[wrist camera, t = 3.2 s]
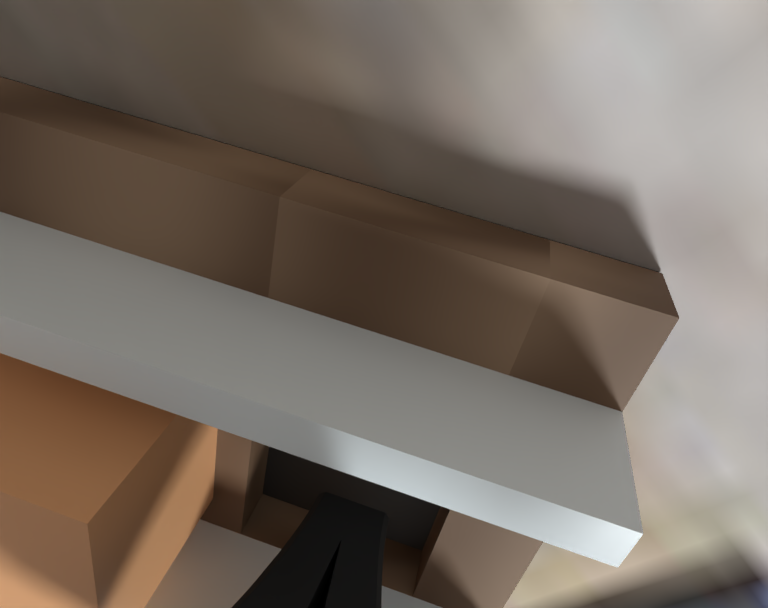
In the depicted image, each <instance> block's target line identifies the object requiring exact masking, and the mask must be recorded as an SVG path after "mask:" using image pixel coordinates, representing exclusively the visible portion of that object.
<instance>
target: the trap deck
mask: <svg viewBox="0 0 768 608" xmlns="http://www.w3.org/2000/svg"><path fill="white" fill-rule="evenodd" d="M0 212H3V213H6V214H9V215H12V216H15V217H18V218H21V219H24V220H27V221H31V222H34V223H37V224H40V225H43V226H46V227H49V228H52V229H55V230H59V231H62V232H65V233H68V234H71V235H74V236H77V237H80V238H83V239H86V240H90V241H93V242H96V243H99V244H102V245H105V246H108V247H111V248H114V249H118V250H121V251H124V252H127V253H130V254H133V255H136V256H139V257H142V258H146V259H149V260H152V261H155V262H158V263H161V264H164V265H167V266H170V267H174V268H177V269H180V270H183V271H186V272H189V273H192V274H195V275H198V276H201V277H205V278H208V279H211V280H214V281H217V282H220V283H223V284H226V285H229V286H233V287H236V288H239V289H242V290H245V291H248V292H251V293H254V294H257V295H261V296H264V297H267V298H270V299H273V300H276V301H279V302H282V303H285V304H289V305H292V306H295V307H298V308H301V309H304V310H307V311H310V312H313V313H316V314H320V315H323V316H326V317H329V318H332V319H335V320H338V321H341V322H344V323H348V324H351V325H354V326H357V327H360V328H363V329H366V330H369V331H372V332H376V333H379V334H382V335H385V336H388V337H391V338H394V339H397V340H400V341H403V342H407V343H410V344H413V345H416V346H419V347H422V348H425V349H428V350H431V351H435V352H438V353H441V354H444V355H447V356H450V357H453V358H456V359H459V360H463V361H466V362H469V363H472V364H475V365H478V366H481V367H484V368H487V369H491V370H494V371H497V372H500V373H503V374H506V375H509V376H512V377H515V378H518V379H522V380H525V381H528V382H531V383H534V384H537V385H540V386H543V387H546V388H550V389H553V390H556V391H559V392H562V393H565V394H568V395H571V396H574V397H578V398H581V399H584V400H587V401H590V402H593V403H596V404H599V405H602V406H606V407H609V408H612V409H615V410H618V411H621V412H622V411H623V410H624V408H625V406H626V405H627V403H628V401H629V400H630V398H631V397H632V395H633V393H634V392H635V390H636V388H637V387H638V385H639V383H640V382H641V380H642V378H643V377H644V375H645V374H646V372H647V370H648V369H649V367H650V365H651V364H652V362H653V360H654V359H655V357H656V355H657V354H658V352H659V351H660V349H661V347H662V346H663V344H664V342H665V341H666V339H667V337H668V336H669V334H670V332H671V331H672V329H673V328H674V326H675V324H676V323H677V321H678V319H679V316H678V313H677V311H676V308H675V306H674V303H673V300H672V298H671V295H670V292H669V290H668V287H667V285H666V282H665V279H664V277H663V274H662V273H659V272H656V271H652V270H649V269H646V268H642V267H639V266H635V265H632V264H629V263H625V262H622V261H619V260H615V259H612V258H609V257H605V256H602V255H598V254H595V253H592V252H588V251H585V250H582V249H578V248H575V247H572V246H568V245H565V244H561V243H558V242H555V241H551V240H548V239H545V238H541V237H538V236H534V235H531V234H528V233H524V232H521V231H518V230H514V229H511V228H508V227H504V226H501V225H497V224H494V223H491V222H487V221H484V220H481V219H477V218H474V217H471V216H467V215H464V214H460V213H457V212H454V211H450V210H447V209H444V208H440V207H437V206H434V205H430V204H427V203H423V202H420V201H417V200H413V199H410V198H407V197H403V196H400V195H397V194H393V193H390V192H386V191H383V190H380V189H376V188H373V187H370V186H366V185H363V184H360V183H356V182H353V181H349V180H346V179H343V178H339V177H336V176H333V175H329V174H326V173H323V172H319V171H316V170H312V169H309V168H306V167H302V166H299V165H296V164H292V163H289V162H285V161H282V160H279V159H275V158H272V157H269V156H265V155H262V154H259V153H255V152H252V151H248V150H245V149H242V148H238V147H235V146H232V145H228V144H225V143H222V142H218V141H215V140H211V139H208V138H205V137H201V136H198V135H195V134H191V133H188V132H185V131H181V130H178V129H174V128H171V127H168V126H164V125H161V124H158V123H154V122H151V121H148V120H144V119H141V118H137V117H134V116H131V115H127V114H124V113H121V112H117V111H114V110H111V109H107V108H104V107H100V106H97V105H94V104H90V103H87V102H84V101H80V100H77V99H74V98H70V97H67V96H63V95H60V94H57V93H53V92H50V91H47V90H43V89H40V88H36V87H33V86H30V85H26V84H23V83H20V82H16V81H13V80H10V79H6V78H3V77H0ZM323 492H328V493H331V494H334V495H337V496H340V497H342V498H345V499H348V500H351V501H354V502H356V503H359V504H362V505H365V506H368V507H371V508H373V509H376V510H379V511H382V512H385V513H386V515H387V516H388V517H389V522H388V526H387V532H386V539H385V546H384V556H383V571H382V586H384V587H387V588H390V589H393V590H395V591H398V592H401V593H404V594H406V595H409V596H412V597H415V598H417V599H420V600H423V601H426V602H428V603H431V604H434V605H436V606H439V607H442V608H503V607H504V605H505V604H506V602H507V600H508V599H509V597H510V595H511V594H512V592H513V590H514V589H515V587H516V586H517V584H518V582H519V581H520V579H521V577H522V576H523V574H524V572H525V571H526V569H527V567H528V566H529V564H530V563H531V561H532V559H533V558H534V556H535V554H536V553H537V551H538V549H539V548H540V546H541V544H542V543H543V541H540V540H537V539H534V538H531V537H528V536H525V535H523V534H520V533H517V532H514V531H511V530H508V529H505V528H502V527H499V526H497V525H494V524H491V523H488V522H485V521H482V520H479V519H476V518H474V517H471V516H468V515H465V514H462V513H459V512H456V511H453V510H451V509H448V508H445V507H442V506H439V505H436V504H433V503H430V502H428V501H425V500H422V499H419V498H416V497H413V496H410V495H407V494H405V493H402V492H399V491H396V490H393V489H390V488H387V487H384V486H381V485H379V484H376V483H373V482H370V481H367V480H364V479H361V478H358V477H356V476H353V475H350V474H347V473H344V472H341V471H338V470H335V469H333V468H330V467H327V466H324V465H321V464H318V463H315V462H312V461H310V460H307V459H304V458H301V457H298V456H295V455H292V454H289V453H287V452H284V451H281V450H278V449H275V448H272V447H269V446H266V445H263V444H261V443H258V442H255V441H252V440H249V439H246V438H243V437H240V436H238V435H235V434H232V433H229V432H226V431H223V430H220V429H218V431H217V446H216V461H215V476H214V491H213V499H212V501H211V502H210V504H209V506H208V507H207V509H206V510H205V512H204V514H203V515H202V517H201V518H200V519H201V520H203V521H206V522H209V523H212V524H214V525H217V526H220V527H222V528H225V529H228V530H231V531H233V532H236V533H239V534H242V535H244V536H247V537H250V538H253V539H255V540H258V541H261V542H264V543H266V544H269V545H272V546H275V547H277V548H280V549H282V548H283V547H284V545H285V544H286V543H287V541H288V540H289V539H290V537H291V536H292V535H293V534H294V532H295V531H296V529H297V528H298V527H299V525H300V524H301V522H302V521H303V519H304V518H305V516H306V515H307V513H308V512H309V510H310V509H311V507H312V505H313V504H314V502H315V500H316V498H317V497H318V495H319V493H323Z"/></svg>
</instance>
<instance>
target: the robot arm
mask: <svg viewBox="0 0 768 608" xmlns="http://www.w3.org/2000/svg"><path fill="white" fill-rule="evenodd" d="M388 522H389V517H388V516H387V515H386V513H385V512H382V511H379V510H376V509H373V508H371V507H368V506H365V505H362V504H359V503H356V502H354V501H351V500H348V499H345V498H342V497H340V496H337V495H334V494H331V493H328V492H323V493H319V495H318V497H317V498H316V500H315V502H314V504H313V505H312V507H311V509H310V510H309V512H308V513H307V515H306V516H305V518H304V519H303V521H302V522H301V524H300V525H299V527H298V528H297V529H296V531H295V532H294V534H293V535H292V536H291V537H290V539H289V540H288V541H287V543H286V544H285V545H284V547H283V548H282V549H281V551H280V552H279V553H278V554H277V556H276V557H275V558H274V559H273V560H272V562H271V563H270V564H269V565H268V566H267V568H266V569H265V570H264V571H263V572H262V574H261V575H260V576H259V577H258V578H257V580H256V581H255V582H254V583H253V584H252V586H251V587H250V588H249V589H248V590H247V591H246V592H245V593H244V595H243V596H242V597H241V598H240V599H239V600H238V601H237V602H236V603H235V604H234V605H233V606H232V607H231V608H381V599H382V571H383V556H384V546H385V539H386V532H387V526H388Z"/></svg>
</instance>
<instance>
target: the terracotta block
mask: <svg viewBox="0 0 768 608" xmlns="http://www.w3.org/2000/svg"><path fill="white" fill-rule="evenodd" d="M217 431H218V429H217V428H215V427H212V426H209V425H206V424H203V423H200V422H197V421H194V420H192V419H189V418H186V417H183V416H180V415H177V414H174V413H171V412H169V411H166V410H163V409H160V408H157V407H154V406H151V405H148V404H146V403H143V402H140V401H137V400H134V399H131V398H128V397H125V396H122V395H120V394H117V393H114V392H111V391H108V390H105V389H102V388H99V387H97V386H94V385H91V384H88V383H85V382H82V381H79V380H76V379H74V378H71V377H68V376H65V375H62V374H59V373H56V372H53V371H51V370H48V369H45V368H42V367H39V366H36V365H33V364H30V363H28V362H25V361H22V360H19V359H16V358H13V357H10V356H7V355H4V354H2V353H0V608H145V606H146V605H147V603H148V601H149V600H150V598H151V597H152V595H153V593H154V592H155V590H156V589H157V587H158V585H159V584H160V582H161V581H162V579H163V577H164V576H165V574H166V573H167V571H168V569H169V568H170V566H171V565H172V563H173V561H174V560H175V558H176V557H177V555H178V553H179V552H180V550H181V549H182V547H183V546H184V544H185V542H186V541H187V539H188V538H189V536H190V534H191V533H192V531H193V530H194V528H195V526H196V525H197V523H198V522H199V520H200V518H201V517H202V515H203V514H204V512H205V510H206V509H207V507H208V506H209V504H210V502H211V501H212V499H213V491H214V476H215V461H216V446H217Z"/></svg>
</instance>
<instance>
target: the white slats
mask: <svg viewBox="0 0 768 608" xmlns="http://www.w3.org/2000/svg"><path fill="white" fill-rule="evenodd" d="M0 353H2V354H4V355H7V356H10V357H13V358H16V359H19V360H22V361H25V362H28V363H30V364H33V365H36V366H39V367H42V368H45V369H48V370H51V371H53V372H56V373H59V374H62V375H65V376H68V377H71V378H74V379H76V380H79V381H82V382H85V383H88V384H91V385H94V386H97V387H99V388H102V389H105V390H108V391H111V392H114V393H117V394H120V395H122V396H125V397H128V398H131V399H134V400H137V401H140V402H143V403H146V404H148V405H151V406H154V407H157V408H160V409H163V410H166V411H169V412H171V413H174V414H177V415H180V416H183V417H186V418H189V419H192V420H194V421H197V422H200V423H203V424H206V425H209V426H212V427H215V428H217V429H220V430H223V431H226V432H229V433H232V434H235V435H238V436H240V437H243V438H246V439H249V440H252V441H255V442H258V443H261V444H263V445H266V446H269V447H272V448H275V449H278V450H281V451H284V452H287V453H289V454H292V455H295V456H298V457H301V458H304V459H307V460H310V461H312V462H315V463H318V464H321V465H324V466H327V467H330V468H333V469H335V470H338V471H341V472H344V473H347V474H350V475H353V476H356V477H358V478H361V479H364V480H367V481H370V482H373V483H376V484H379V485H381V486H384V487H387V488H390V489H393V490H396V491H399V492H402V493H405V494H407V495H410V496H413V497H416V498H419V499H422V500H425V501H428V502H430V503H433V504H436V505H439V506H442V507H445V508H448V509H451V510H453V511H456V512H459V513H462V514H465V515H468V516H471V517H474V518H476V519H479V520H482V521H485V522H488V523H491V524H494V525H497V526H499V527H502V528H505V529H508V530H511V531H514V532H517V533H520V534H523V535H525V536H528V537H531V538H534V539H537V540H540V541H543V542H546V543H548V544H551V545H554V546H557V547H560V548H563V549H566V550H569V551H571V552H574V553H577V554H580V555H583V556H586V557H589V558H592V559H594V560H597V561H600V562H603V563H606V564H609V565H612V566H615V567H617V568H618V567H619V565H620V564H621V563H622V561H623V560H624V559H625V557H626V556H627V555H628V553H629V552H630V551H631V549H632V548H633V547H634V546H635V544H636V543H637V542H638V540H639V539H640V538H641V536H642V535H643V529H642V524H641V518H640V512H639V506H638V500H637V495H636V489H635V483H634V477H633V472H632V466H631V460H630V454H629V448H628V443H627V437H626V431H625V425H624V420H623V414H622V412H621V411H618V410H615V409H612V408H609V407H606V406H602V405H599V404H596V403H593V402H590V401H587V400H584V399H581V398H578V397H574V396H571V395H568V394H565V393H562V392H559V391H556V390H553V389H550V388H546V387H543V386H540V385H537V384H534V383H531V382H528V381H525V380H522V379H518V378H515V377H512V376H509V375H506V374H503V373H500V372H497V371H494V370H491V369H487V368H484V367H481V366H478V365H475V364H472V363H469V362H466V361H463V360H459V359H456V358H453V357H450V356H447V355H444V354H441V353H438V352H435V351H431V350H428V349H425V348H422V347H419V346H416V345H413V344H410V343H407V342H403V341H400V340H397V339H394V338H391V337H388V336H385V335H382V334H379V333H376V332H372V331H369V330H366V329H363V328H360V327H357V326H354V325H351V324H348V323H344V322H341V321H338V320H335V319H332V318H329V317H326V316H323V315H320V314H316V313H313V312H310V311H307V310H304V309H301V308H298V307H295V306H292V305H289V304H285V303H282V302H279V301H276V300H273V299H270V298H267V297H264V296H261V295H257V294H254V293H251V292H248V291H245V290H242V289H239V288H236V287H233V286H229V285H226V284H223V283H220V282H217V281H214V280H211V279H208V278H205V277H201V276H198V275H195V274H192V273H189V272H186V271H183V270H180V269H177V268H174V267H170V266H167V265H164V264H161V263H158V262H155V261H152V260H149V259H146V258H142V257H139V256H136V255H133V254H130V253H127V252H124V251H121V250H118V249H114V248H111V247H108V246H105V245H102V244H99V243H96V242H93V241H90V240H86V239H83V238H80V237H77V236H74V235H71V234H68V233H65V232H62V231H59V230H55V229H52V228H49V227H46V226H43V225H40V224H37V223H34V222H31V221H27V220H24V219H21V218H18V217H15V216H12V215H9V214H6V213H3V212H0ZM280 551H281V549H280V548H277V547H275V546H272V545H269V544H266V543H264V542H261V541H258V540H255V539H253V538H250V537H247V536H244V535H242V534H239V533H236V532H233V531H231V530H228V529H225V528H222V527H220V526H217V525H214V524H212V523H209V522H206V521H203V520H201V519H200V520H199V522H198V523H197V525H196V526H195V528H194V530H193V531H192V533H191V534H190V536H189V538H188V539H187V541H186V542H185V544H184V546H183V547H182V549H181V550H180V552H179V553H178V555H177V557H176V558H175V560H174V561H173V563H172V565H171V566H170V568H169V569H168V571H167V573H166V574H165V576H164V577H163V579H162V581H161V582H160V584H159V585H158V587H157V589H156V590H155V592H154V593H153V595H152V597H151V598H150V600H149V601H148V603H147V605H146V606H145V608H231V607H232V606H233V605H234V604H235V603H236V602H237V601H238V600H239V599H240V598H241V597H242V596H243V595H244V593H245V592H246V591H247V590H248V589H249V588H250V587H251V586H252V584H253V583H254V582H255V581H256V580H257V578H258V577H259V576H260V575H261V574H262V572H263V571H264V570H265V569H266V568H267V566H268V565H269V564H270V563H271V562H272V560H273V559H274V558H275V557H276V556H277V554H278V553H279V552H280ZM381 608H442V607H439V606H436V605H434V604H431V603H428V602H426V601H423V600H420V599H417V598H415V597H412V596H409V595H406V594H404V593H401V592H398V591H395V590H393V589H390V588H387V587H384V586H382V599H381Z"/></svg>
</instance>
